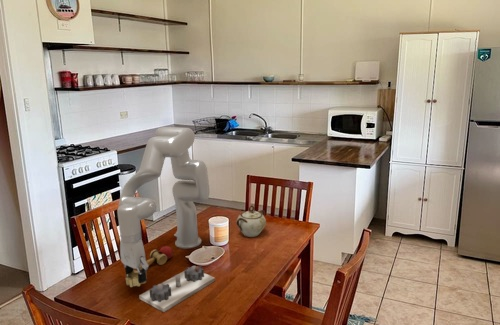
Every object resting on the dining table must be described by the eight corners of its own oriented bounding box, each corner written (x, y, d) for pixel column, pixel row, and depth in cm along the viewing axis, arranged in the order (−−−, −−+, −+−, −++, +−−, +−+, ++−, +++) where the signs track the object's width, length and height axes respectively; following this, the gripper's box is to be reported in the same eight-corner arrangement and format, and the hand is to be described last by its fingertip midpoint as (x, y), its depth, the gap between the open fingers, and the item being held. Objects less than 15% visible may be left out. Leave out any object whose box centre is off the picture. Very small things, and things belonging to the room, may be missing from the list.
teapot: (254, 224, 215) (253, 198, 212) (275, 231, 205) (275, 204, 201) (227, 235, 202) (226, 207, 198) (248, 244, 191) (247, 214, 188)
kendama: (145, 278, 165) (178, 256, 178) (140, 264, 164) (174, 243, 177) (135, 275, 171) (168, 254, 183) (130, 262, 169) (164, 242, 182)
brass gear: (122, 282, 153) (121, 275, 152) (138, 274, 158) (138, 267, 158) (134, 289, 148) (133, 282, 148) (150, 280, 154) (149, 273, 153)
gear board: (139, 298, 148) (137, 283, 146) (190, 270, 167) (189, 256, 166) (163, 312, 139) (162, 295, 138) (215, 280, 159) (214, 266, 157)
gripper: (109, 234, 151) (114, 275, 156) (136, 246, 140) (142, 290, 145) (126, 227, 157) (131, 267, 161) (154, 238, 146) (158, 281, 151)
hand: (136, 278), depth 153 cm, fingers closed on brass gear, 7 cm apart
